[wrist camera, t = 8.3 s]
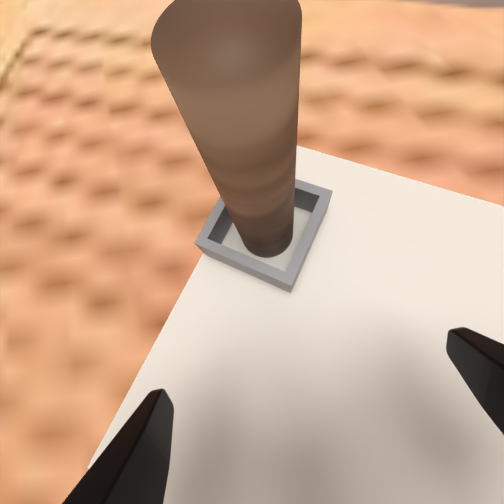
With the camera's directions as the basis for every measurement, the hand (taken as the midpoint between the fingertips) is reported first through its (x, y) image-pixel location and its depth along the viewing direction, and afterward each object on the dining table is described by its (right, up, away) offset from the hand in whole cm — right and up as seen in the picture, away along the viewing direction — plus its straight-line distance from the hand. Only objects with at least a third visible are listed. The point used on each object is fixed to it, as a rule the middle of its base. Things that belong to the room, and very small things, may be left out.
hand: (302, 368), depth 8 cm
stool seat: (+6, -3, +9) cm, 11 cm away
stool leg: (-1, +5, +10) cm, 11 cm away
